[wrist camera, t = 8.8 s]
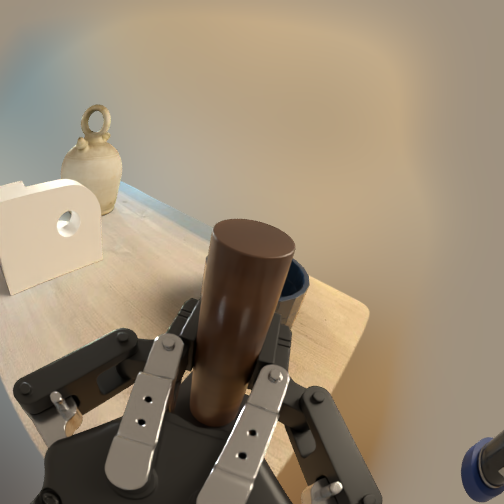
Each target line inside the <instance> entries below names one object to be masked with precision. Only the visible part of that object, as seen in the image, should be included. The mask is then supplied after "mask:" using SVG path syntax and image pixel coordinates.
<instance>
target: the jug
mask: <svg viewBox="0 0 504 504" xmlns="http://www.w3.org/2000/svg"><path fill="white" fill-rule="evenodd" d="M95 111H100V112H101V113H102V114H103V118H104V124H103V127H102V129H101V130H100V131H98V132H93V131H91V130H90V129H89V126H88V120H89V117H90V115H91V114H92V113H93V112H95ZM110 123H111V117H110V113H109V111H108V109H107V108H106V107H104V106H103V105H94V106H91V107H90V108H88V109H87V110H86V111H85V113H84V114H83V117H82V120H81V128H82V131H83V133H84V134H85V137H84V138H83V137H79V139H78V141H77V144H76V146H75V147H73V148H72V149H71V150H70V151H69V152H68V153H67V154H66V156H65V158H64V160H63V163H62V168H61V179H71V180H74V181H77V182H79V183H80V184H82V185H83V186H85V187H86V188H88V189H89V190H90V191H91V192H92V193H93V194H94V195H95V196H96V198H97V199H98V202H99V204H100V208H101V216H102V215H105V214H108V213H109V212H111V211H112V210H113V209H114V204H115V202H116V198H117V193H118V189H119V185H120V180H121V175H122V163H121V158H120V156H119V153H118V151H117V150H116V149H115V148H114V147H113V146H111V145H110V144H109V143H107V142H106V141H107V140H108V139H109V137H110V134H109V133H108V132H107V131H108V129H109V127H110ZM69 212H70V213H71V214H72V211H69Z"/></svg>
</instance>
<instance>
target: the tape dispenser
mask: <svg viewBox="0 0 504 504" xmlns="http://www.w3.org/2000/svg"><path fill="white" fill-rule="evenodd" d="M67 211H72V216H71V219H70V221H69V222H68V221H58V220H59V218H60V216H61V215H62V214H63V213H65V212H67ZM101 260H103V257H102V234H101V208H100V204H99V202H98V199H97V198H96V196H95V195H94V194H93V193H92V192H91V191H90V190H89V189H88V188H86V187H85V186H83V185H82V184H80V183H79V182H77V181H74V180H71V179H59V180H55V181H50V182H45V183H41V184H36V185H32V186H28V187H25V185H24V184H23V182H22V181H18V182H14V183H11V184H7V185H2V186H0V264H1V267H2V271H3V274H4V277H5V280H6V283H7V286H8V289H9V291H10V294H11V296H12V295H14V294H16V293H19V292H21V291H24V290H26V289H28V288H31V287H33V286H36V285H38V284H41V283H43V282H46V281H48V280H51V279H53V278H56V277H59V276H61V275H64V274H66V273H69V272H72V271H74V270H77V269H80V268H82V267H85V266H88V265H90V264H93V263H96V262H98V261H101Z"/></svg>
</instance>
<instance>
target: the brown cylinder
mask: <svg viewBox="0 0 504 504" xmlns="http://www.w3.org/2000/svg"><path fill="white" fill-rule="evenodd" d="M294 252H295V243H294V241H293V240H292V239H291V237H289V236H288V235H287V234H286V233H284V232H283V231H281V230H279V229H278V228H275V227H273V226H271V225H268V224H265V223H262V222H258V221H253V220H247V219H229V220H224V221H221V222H218V223H217V224H216V225H215V226H214V227H213V229H212V234H211V240H210V246H209V252H208V259H207V265H206V272H205V279H204V286H203V293H202V300H201V307H200V315H199V323H198V331H197V339H196V347H195V356H194V365H193V371H192V372H191V373H190V374H189V375H188V377H187V378H186V379H185V380H184V381H183V382H182V383H181V385H180V389H179V393H178V398H177V402H176V406H175V412H174V414H176V415H178V416H179V417H181V418H183V419H184V420H186V421H187V422H189V423H191V424H192V425H194V426H196V427H199V428H209V429H223V430H226V431H230V432H232V430H233V428H234V426H235V424H236V422H237V420H238V418H239V416H240V414H241V412H242V409H243V407H244V405H245V403H246V402H247V400H248V397H249V395H247V394H245V392H246V389H247V387H248V383H249V380H250V378H251V375H252V372H253V370H254V367H255V364H256V361H257V359H258V356H259V353H260V351H261V349H262V346H263V343H264V341H265V338H266V335H267V332H268V329H269V327H270V324H271V321H272V318H273V315H274V312H275V309H276V306H277V303H278V301H279V298H280V295H281V292H282V289H283V286H284V283H285V280H286V277H287V274H288V271H289V267H290V264H291V261H292V258H293V255H294Z"/></svg>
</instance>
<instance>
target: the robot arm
mask: <svg viewBox="0 0 504 504" xmlns="http://www.w3.org/2000/svg"><path fill="white" fill-rule="evenodd" d="M201 300H202V295H201V297H200V299H199V300H196V299H193V298H191V299H190V300H188V301H186V302H185V303H184V304H183V306H182V308H181V310H180V311H179V312H178V314H177V316H176V317H175V319H174V320H173V322H172V324H171V325H170V327H169V329H168V330H167V332H166V333H165V334H161V335H159V336H158V337H157V338H156V339H154V340H147V339H138V338H137V335H136V333H135V332H133V331H132V330H130V329H127V328H120V329H116V330H114V331H112V332H110V333H108V334H106V335H105V336H103V337H101V338H99V339H97V340H95V341H93V342H91V343H89V344H87V345H85V346H83V347H81V348H79V349H77V350H75V351H73V352H71V353H70V354H68V355H66V356H64V357H62V358H60V359H58V360H56V361H54V362H52V363H50V364H48V365H46V366H44V367H42V368H40V369H38V370H36V371H34V372H32V373H30V374H28V375H26V376H24V377H22V378H20V379H19V380H18V381H17V382H16V383H15V385H14V388H13V394H14V397H15V398H16V400H17V401H18V402H19V404H20V405H21V407H22V409H23V410H24V411H25V413H26V414H27V415H28V416H29V417H30V419H31V420H32V421H33V423H34V425H35V427H36V428H37V430H38V432H39V433H40V435H41V437H42V438H43V440H44V442H45V443H46V445H47V447H48V450H47V452H46V455H45V460H44V465H45V477H44V484H43V487H42V490H41V492H40V493H39V494H38V495H37V497H36V498H35V499H34V500H33V501H32V502H31V503H30V504H293V503H292V502H291V501H290V499H289V497H288V496H287V494H286V493H285V491H284V490H283V488H282V486H281V485H280V483H279V482H278V480H277V478H276V477H275V475H274V474H273V472H272V470H271V469H270V467H269V465H268V464H267V462H266V460H265V458H264V456H265V454H266V451H267V449H268V446H269V443H270V441H271V438H272V435H273V433H274V430H275V427H276V424H277V422H278V421H279V422H281V423H283V424H284V425H285V429H286V431H287V434H288V436H289V439H290V442H291V444H292V447H293V449H294V452H295V454H296V457H297V459H298V462H299V465H300V467H301V470H302V472H303V474H304V477H305V480H306V482H307V484H308V487H307V488H305V489H304V491H303V493H302V495H301V500H302V504H382V496H381V493H380V491H379V489H378V487H377V485H376V483H375V481H374V479H373V478H372V475H371V473H370V471H369V469H368V467H367V465H366V464H365V461H364V459H363V457H362V455H361V453H360V452H359V450H358V448H357V446H356V444H355V442H354V440H353V438H352V436H351V434H350V432H349V430H348V428H347V426H346V424H345V422H344V420H343V418H342V416H341V414H340V412H339V410H338V408H337V406H336V405H335V402H334V400H333V399H332V397H331V395H330V393H329V392H328V391H327V390H326V389H324V388H322V387H319V386H311V387H308V388H307V389H306V388H304V387H302V386H300V385H298V384H297V383H295V382H294V381H293V380H292V379H291V377H290V376H289V373H288V366H289V357H290V347H291V337H292V333H291V330H290V328H289V326H287V325H283V324H280V323H281V316H282V314H279V313H275V312H274V315H273V318H272V321H271V324H270V327H269V329H268V332H267V335H266V338H265V341H264V343H263V346H262V349H261V351H260V353H259V356H258V359H257V361H256V364H255V367H254V370H253V372H252V375H251V378H250V380H249V383H248V387H247V389H251V390H252V391H251V393H250V395H249V397H248V400H247V402H246V403H245V405H244V407H243V409H242V412H241V414H240V416H239V418H238V420H237V422H236V424H235V426H234V428H233V430H232V432H230V431H226V430H223V429H209V428H199V427H196V426H194V425H192V424H191V423H189V422H187V421H186V420H184V419H183V418H181V417H179V416H178V415H176V414H174V412H175V406H176V402H177V398H178V393H179V389H180V385H181V381H182V377H183V374H184V372H185V370H188V371H191V370H192V368H193V365H194V356H195V347H196V339H197V331H198V323H199V315H200V307H201ZM132 384H134V386H133V389H132V392H131V395H130V397H129V400H128V403H127V406H126V409H125V412H124V415H123V416H122V417H120V418H117V419H115V420H112V421H110V422H107V423H105V424H102V425H99V426H97V427H94V428H91V429H89V430H86V431H83V432H80V433H77V434H74V435H73V433H74V431H75V430H76V429H78V428H79V427H80V425H81V424H82V420H83V417H82V415H84V414H85V413H87V412H89V411H90V410H92V409H94V408H95V407H97V406H99V405H100V404H102V403H104V402H105V401H107V400H108V399H110V398H112V397H113V396H115V395H116V394H118V393H120V392H121V391H123V390H124V389H126V388H128V387H129V386H131V385H132ZM477 470H478V474H479V477H480V479H481V481H482V483H483V484H484V485H485V486H486V487H487V488H489V489H498V488H500V487H501V486H503V485H504V430H503V431H502V432H500V433H499V434H498V435H497V436H496V437H494V438H493V439H492V440H491V441H489V442H488V443H486V444H485V445H484V446H483V447H482V448H481V449H480V451H479V453H478V457H477Z"/></svg>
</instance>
